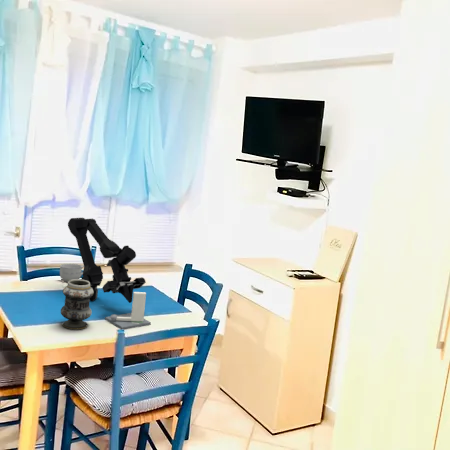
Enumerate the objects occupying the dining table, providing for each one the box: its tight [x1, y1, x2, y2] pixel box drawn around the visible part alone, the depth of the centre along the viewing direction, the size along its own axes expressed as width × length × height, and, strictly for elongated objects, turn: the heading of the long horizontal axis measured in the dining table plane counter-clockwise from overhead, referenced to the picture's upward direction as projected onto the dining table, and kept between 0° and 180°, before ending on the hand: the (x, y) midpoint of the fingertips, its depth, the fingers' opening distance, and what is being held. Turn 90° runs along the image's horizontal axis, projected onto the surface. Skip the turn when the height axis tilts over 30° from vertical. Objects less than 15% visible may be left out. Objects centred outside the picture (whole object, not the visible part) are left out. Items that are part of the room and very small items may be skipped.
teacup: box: [59, 263, 84, 283], centre depth 275 cm, size 14×11×8 cm
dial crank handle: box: [110, 291, 147, 321], centre depth 225 cm, size 2×13×12 cm, turn 104°
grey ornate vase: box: [60, 278, 94, 331], centre depth 215 cm, size 12×12×18 cm
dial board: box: [104, 312, 151, 330], centre depth 227 cm, size 13×14×1 cm
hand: (130, 302), depth 231 cm, fingers closed
